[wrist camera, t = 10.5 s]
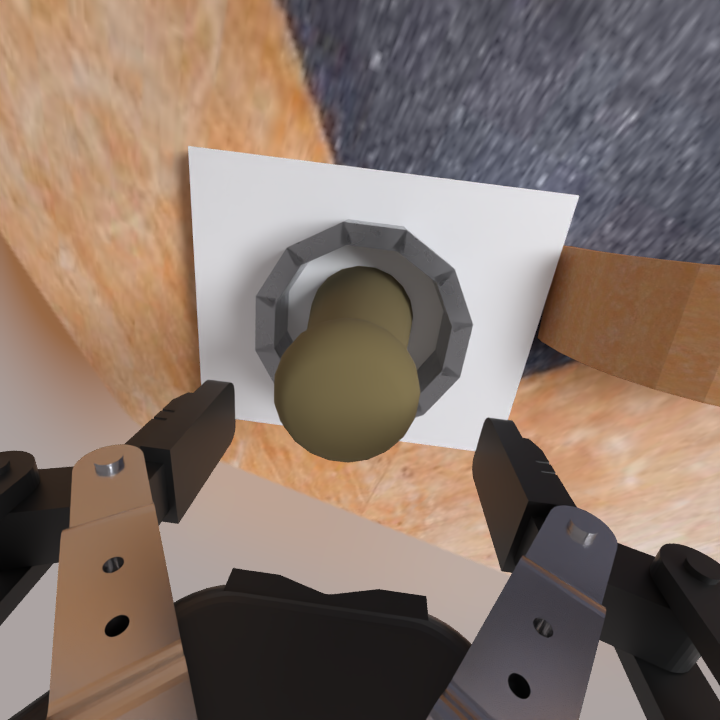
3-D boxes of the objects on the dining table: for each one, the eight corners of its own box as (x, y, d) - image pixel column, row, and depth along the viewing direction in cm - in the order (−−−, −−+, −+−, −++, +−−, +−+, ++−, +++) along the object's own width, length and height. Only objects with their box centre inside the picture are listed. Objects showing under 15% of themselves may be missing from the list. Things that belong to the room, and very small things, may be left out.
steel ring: (478, 235, 20) (494, 240, 17) (437, 413, 24) (444, 440, 21) (273, 209, 20) (255, 210, 17) (269, 391, 24) (254, 415, 21)
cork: (433, 326, 22) (476, 431, 12) (354, 382, 24) (332, 516, 14) (369, 242, 20) (355, 281, 10) (289, 309, 22) (209, 399, 12)
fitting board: (565, 196, 20) (579, 195, 19) (490, 440, 26) (496, 454, 25) (201, 150, 20) (188, 145, 19) (212, 403, 27) (202, 414, 25)
